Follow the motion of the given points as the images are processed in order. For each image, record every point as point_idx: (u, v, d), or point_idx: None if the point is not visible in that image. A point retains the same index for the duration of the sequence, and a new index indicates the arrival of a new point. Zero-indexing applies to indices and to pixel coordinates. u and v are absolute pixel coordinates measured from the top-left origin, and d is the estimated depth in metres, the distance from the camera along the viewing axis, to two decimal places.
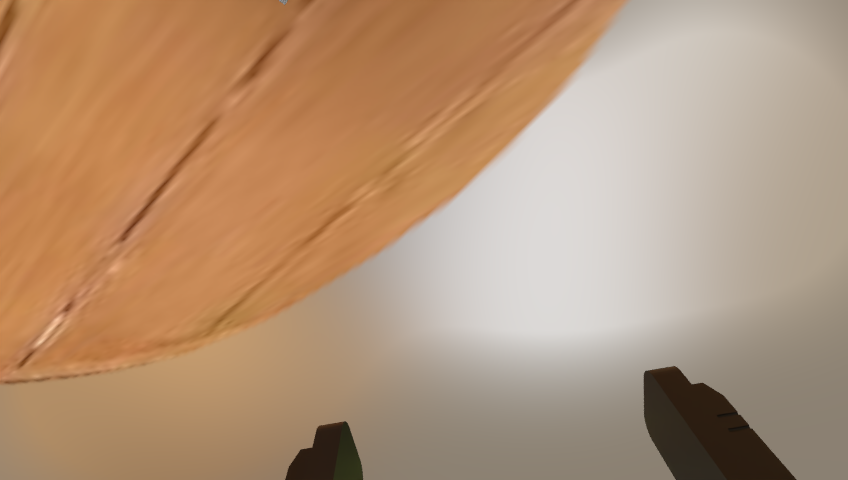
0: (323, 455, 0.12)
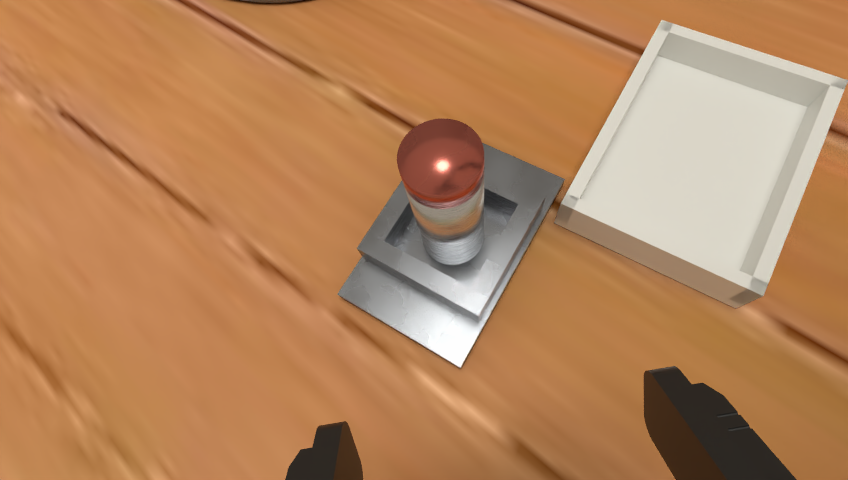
0: (323, 455, 0.12)
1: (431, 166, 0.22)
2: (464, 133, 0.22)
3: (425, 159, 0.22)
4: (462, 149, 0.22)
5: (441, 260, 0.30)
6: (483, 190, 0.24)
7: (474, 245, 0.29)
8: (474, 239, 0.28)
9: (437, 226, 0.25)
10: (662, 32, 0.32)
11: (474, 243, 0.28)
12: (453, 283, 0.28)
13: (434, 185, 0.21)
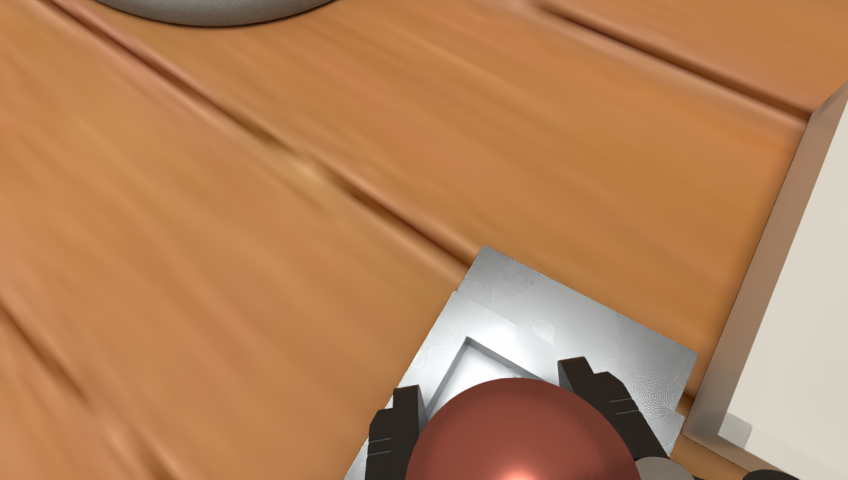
0: (404, 412, 0.12)
1: None
2: (584, 430, 0.08)
3: None
4: None
5: None
6: None
7: None
8: None
9: None
10: None
11: None
12: None
13: None
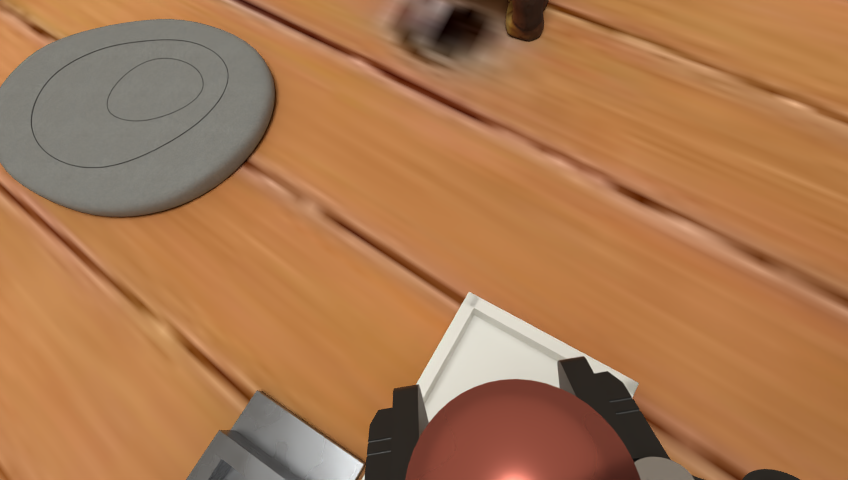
0: (404, 412, 0.12)
1: None
2: (584, 432, 0.08)
3: None
4: None
5: None
6: None
7: None
8: None
9: None
10: (467, 307, 0.32)
11: None
12: None
13: None
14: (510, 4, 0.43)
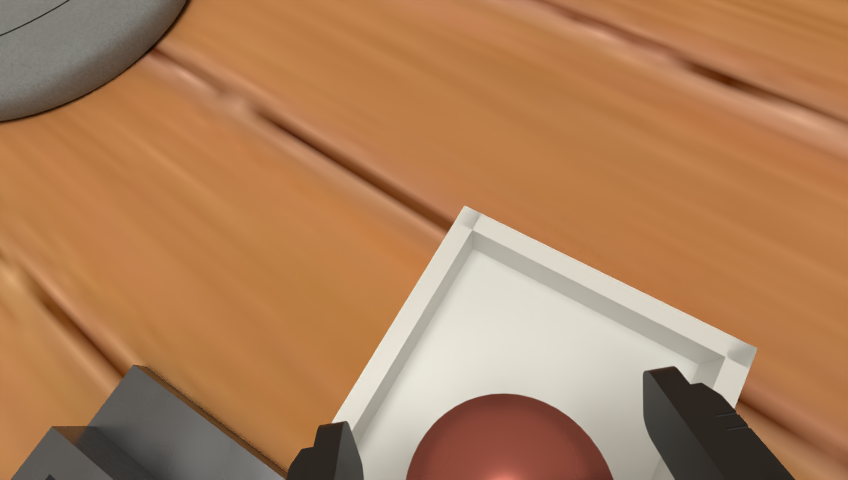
0: (324, 454, 0.12)
1: None
2: (565, 442, 0.09)
3: None
4: None
5: None
6: None
7: None
8: None
9: None
10: (462, 229, 0.19)
11: None
12: None
13: None
14: None
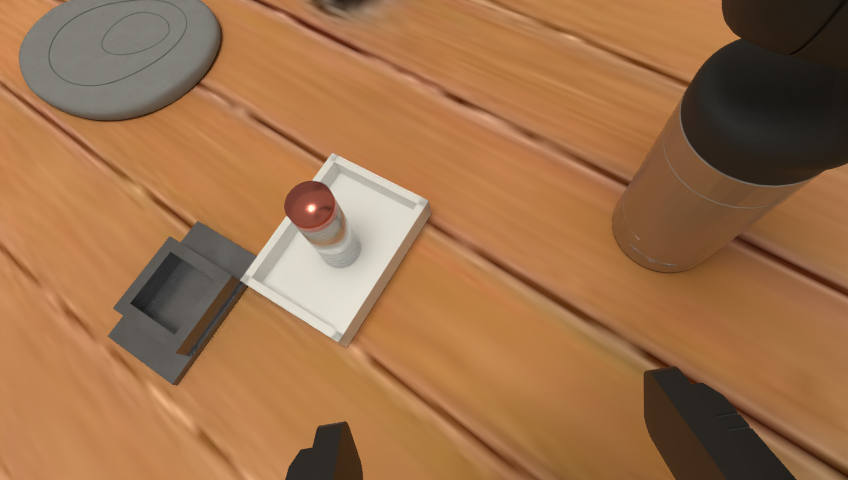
0: (323, 455, 0.12)
1: (302, 208, 0.39)
2: (324, 190, 0.39)
3: (299, 204, 0.39)
4: (321, 199, 0.39)
5: (329, 264, 0.47)
6: (340, 223, 0.41)
7: (347, 256, 0.45)
8: (345, 252, 0.44)
9: (313, 242, 0.41)
10: (330, 162, 0.49)
11: (346, 254, 0.45)
12: (165, 332, 0.44)
13: (302, 219, 0.38)
14: None
